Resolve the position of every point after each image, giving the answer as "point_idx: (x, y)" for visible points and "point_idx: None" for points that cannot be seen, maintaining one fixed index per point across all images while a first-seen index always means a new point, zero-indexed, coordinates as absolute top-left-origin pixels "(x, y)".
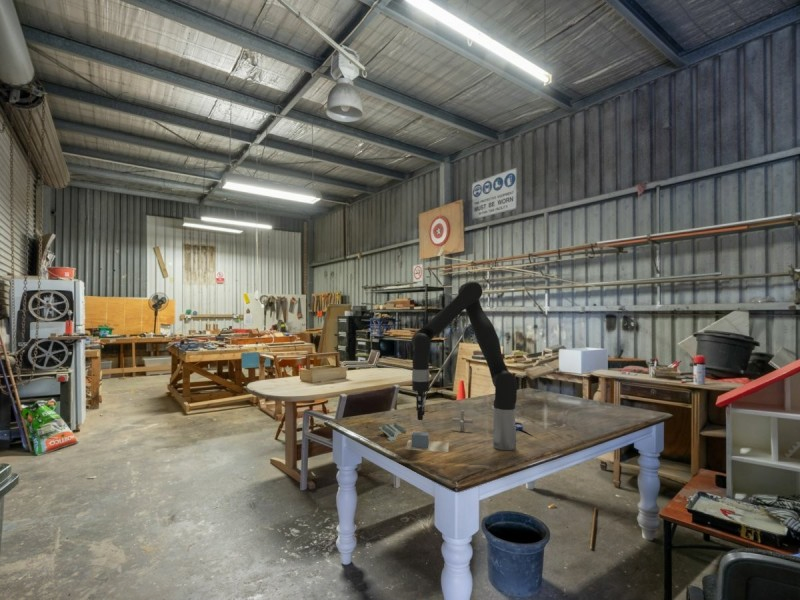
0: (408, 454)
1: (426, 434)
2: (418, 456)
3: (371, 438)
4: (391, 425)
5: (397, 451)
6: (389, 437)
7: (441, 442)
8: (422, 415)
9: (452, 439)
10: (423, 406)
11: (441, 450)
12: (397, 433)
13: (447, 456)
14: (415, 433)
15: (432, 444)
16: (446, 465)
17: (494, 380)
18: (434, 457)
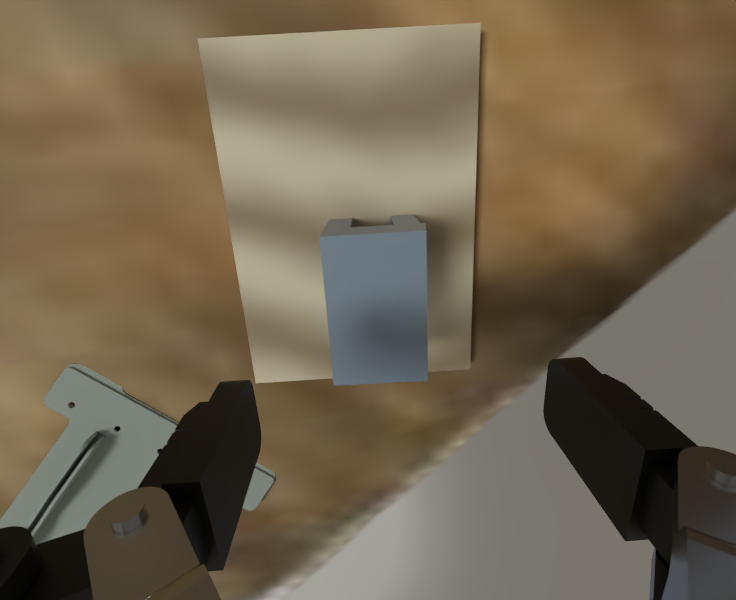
0: (502, 329)
1: (382, 254)
2: (532, 260)
3: (258, 576)
4: None
5: (457, 401)
6: None
7: (228, 115)
8: (620, 396)
9: (18, 21)
10: (192, 506)
11: (448, 91)
12: (139, 478)
13: (505, 33)
14: (373, 358)
15: (311, 190)
16: (706, 23)
17: None
18: (540, 142)
